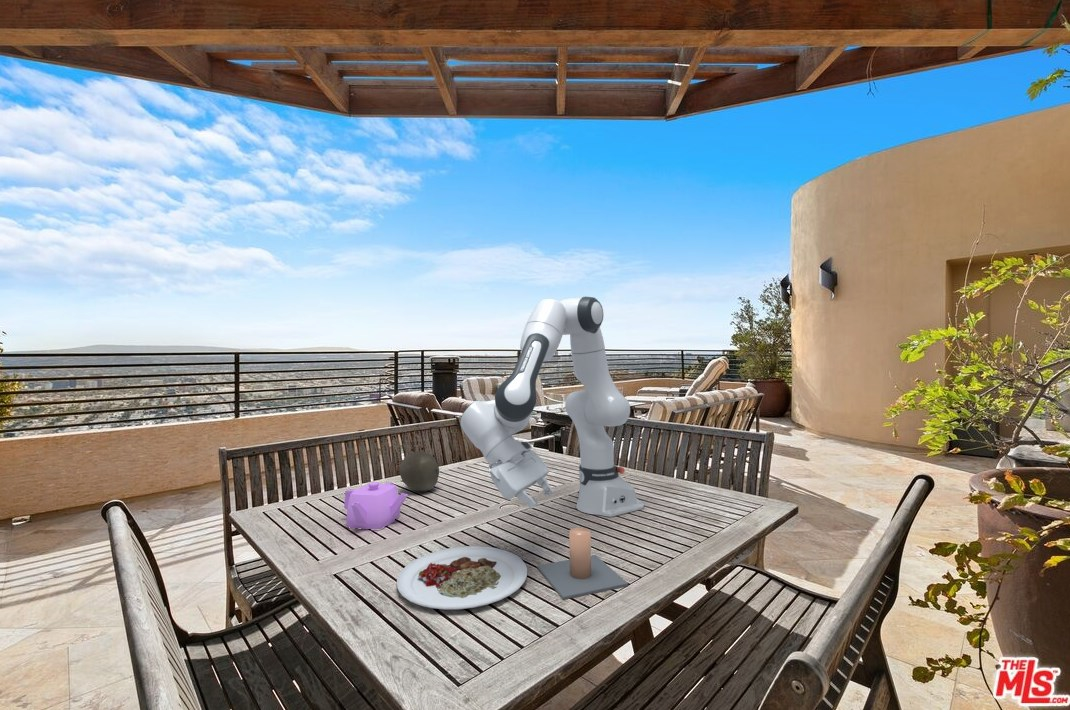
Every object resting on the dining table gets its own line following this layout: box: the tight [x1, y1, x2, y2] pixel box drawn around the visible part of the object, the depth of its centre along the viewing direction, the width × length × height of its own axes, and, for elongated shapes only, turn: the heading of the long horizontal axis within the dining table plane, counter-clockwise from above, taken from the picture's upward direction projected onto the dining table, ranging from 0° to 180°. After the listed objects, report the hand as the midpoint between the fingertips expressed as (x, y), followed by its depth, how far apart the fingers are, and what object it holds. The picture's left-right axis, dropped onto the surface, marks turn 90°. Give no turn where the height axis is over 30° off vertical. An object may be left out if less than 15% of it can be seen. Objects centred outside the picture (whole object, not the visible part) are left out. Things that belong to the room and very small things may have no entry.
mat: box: [536, 554, 629, 601], centre depth 113 cm, size 16×16×1 cm
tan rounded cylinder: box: [568, 527, 592, 579], centre depth 113 cm, size 5×5×10 cm
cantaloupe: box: [399, 451, 440, 492], centre depth 182 cm, size 14×14×15 cm
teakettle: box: [343, 481, 408, 530], centre depth 151 cm, size 17×17×12 cm
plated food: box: [396, 545, 528, 610], centre depth 113 cm, size 30×30×3 cm
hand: (542, 500), depth 117 cm, fingers open, 8 cm apart
